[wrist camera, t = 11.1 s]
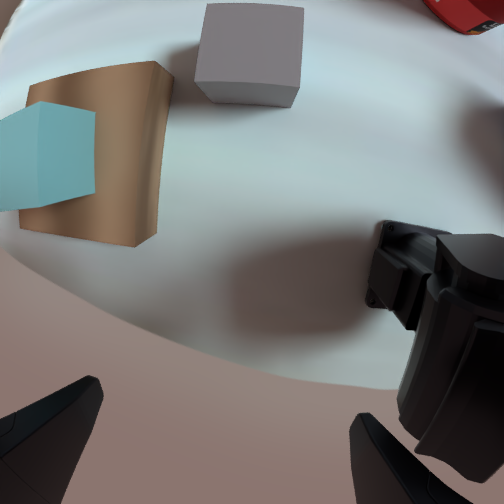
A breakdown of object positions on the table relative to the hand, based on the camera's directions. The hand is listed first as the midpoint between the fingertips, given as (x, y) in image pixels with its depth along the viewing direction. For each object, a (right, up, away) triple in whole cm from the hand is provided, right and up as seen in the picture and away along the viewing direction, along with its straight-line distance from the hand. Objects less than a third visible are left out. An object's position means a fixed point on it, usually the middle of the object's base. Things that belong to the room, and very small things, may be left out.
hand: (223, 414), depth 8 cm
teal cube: (-11, +11, +6) cm, 17 cm away
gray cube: (+1, +17, +7) cm, 19 cm away
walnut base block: (-10, +13, +10) cm, 19 cm away
